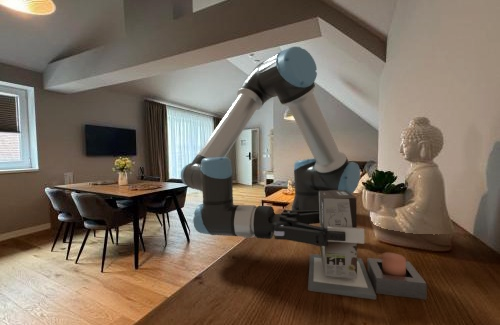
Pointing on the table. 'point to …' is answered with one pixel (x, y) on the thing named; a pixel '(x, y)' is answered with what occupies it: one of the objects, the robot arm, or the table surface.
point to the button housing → (397, 281)
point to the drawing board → (339, 281)
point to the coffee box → (338, 215)
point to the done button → (393, 264)
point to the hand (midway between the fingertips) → (359, 226)
